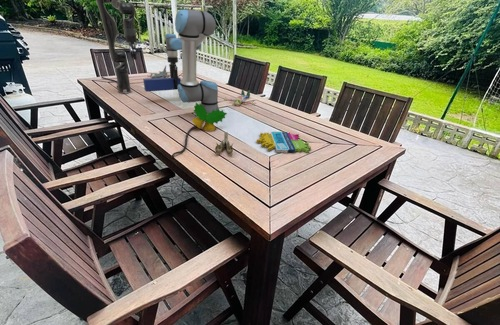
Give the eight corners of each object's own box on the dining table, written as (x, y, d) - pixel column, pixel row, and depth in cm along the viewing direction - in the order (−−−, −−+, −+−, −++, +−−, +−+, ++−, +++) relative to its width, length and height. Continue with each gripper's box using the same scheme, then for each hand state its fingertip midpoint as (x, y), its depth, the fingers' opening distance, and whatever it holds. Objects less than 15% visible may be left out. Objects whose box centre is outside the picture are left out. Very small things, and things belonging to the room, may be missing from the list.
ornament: (218, 133, 171) (224, 110, 169) (221, 134, 163) (227, 111, 161) (186, 125, 162) (192, 101, 160) (189, 126, 155) (195, 101, 153)
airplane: (141, 75, 284) (140, 65, 279) (171, 73, 297) (170, 64, 292) (147, 84, 255) (146, 73, 250) (179, 82, 269) (178, 72, 264)
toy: (261, 91, 228) (254, 99, 202) (261, 99, 231) (253, 108, 205) (231, 87, 233) (220, 95, 207) (230, 95, 236) (219, 104, 210)
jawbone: (234, 135, 144) (233, 125, 135) (233, 160, 138) (232, 151, 129) (217, 135, 144) (216, 125, 135) (216, 160, 138) (214, 150, 129)
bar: (179, 87, 211) (178, 77, 207) (181, 89, 207) (180, 78, 203) (144, 90, 198) (143, 78, 194) (146, 91, 194) (144, 80, 190)
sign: (313, 150, 142) (258, 149, 139) (312, 153, 143) (258, 152, 140) (301, 132, 164) (254, 130, 161) (301, 134, 165) (254, 133, 162)
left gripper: (123, 33, 193) (127, 57, 201) (126, 35, 183) (130, 60, 191) (134, 34, 197) (137, 57, 205) (137, 35, 186) (141, 60, 194)
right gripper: (164, 55, 200) (167, 86, 211) (170, 58, 187) (173, 91, 198) (173, 55, 204) (176, 85, 215) (181, 58, 190) (183, 90, 201)
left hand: (134, 58), depth 198 cm, fingers open, 8 cm apart
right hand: (175, 88), depth 206 cm, fingers closed on bar, 5 cm apart
